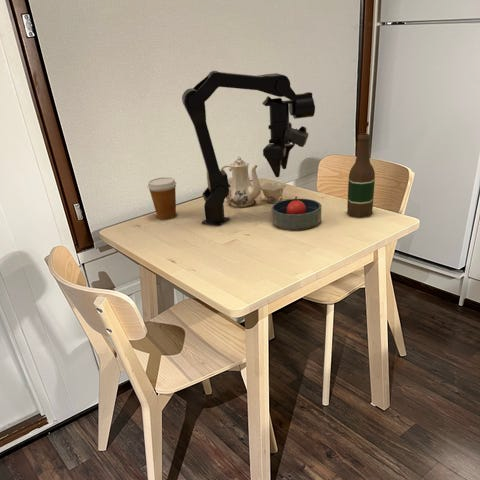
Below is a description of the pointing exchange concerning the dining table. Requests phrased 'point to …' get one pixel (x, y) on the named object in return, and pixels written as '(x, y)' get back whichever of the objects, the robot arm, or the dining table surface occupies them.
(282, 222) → the bowl
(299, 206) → the apple
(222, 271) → the dining table surface
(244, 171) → the chinaware
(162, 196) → the disposable coffee cup
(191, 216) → the dining table surface
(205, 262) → the dining table surface
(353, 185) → the beer bottle
